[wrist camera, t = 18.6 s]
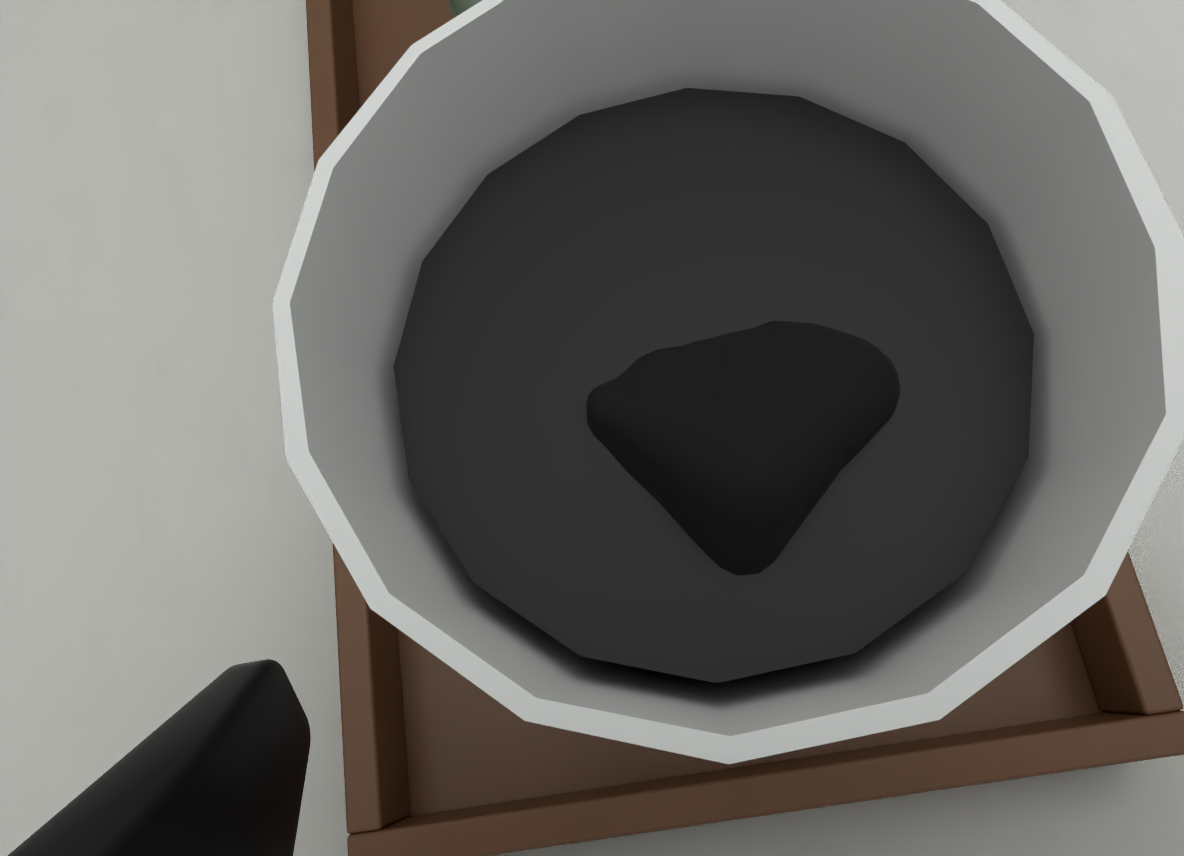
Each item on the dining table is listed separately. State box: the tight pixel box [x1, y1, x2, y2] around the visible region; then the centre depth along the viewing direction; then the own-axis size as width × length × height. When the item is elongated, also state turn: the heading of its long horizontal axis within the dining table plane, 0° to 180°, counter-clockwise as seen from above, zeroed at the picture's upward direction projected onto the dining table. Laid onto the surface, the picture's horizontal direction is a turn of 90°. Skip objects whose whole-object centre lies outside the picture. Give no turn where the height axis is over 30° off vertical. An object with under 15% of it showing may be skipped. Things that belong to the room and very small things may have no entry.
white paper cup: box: [272, 0, 1184, 764], centre depth 11 cm, size 7×7×10 cm
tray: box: [306, 0, 1184, 856], centre depth 19 cm, size 33×13×2 cm, turn 8°
